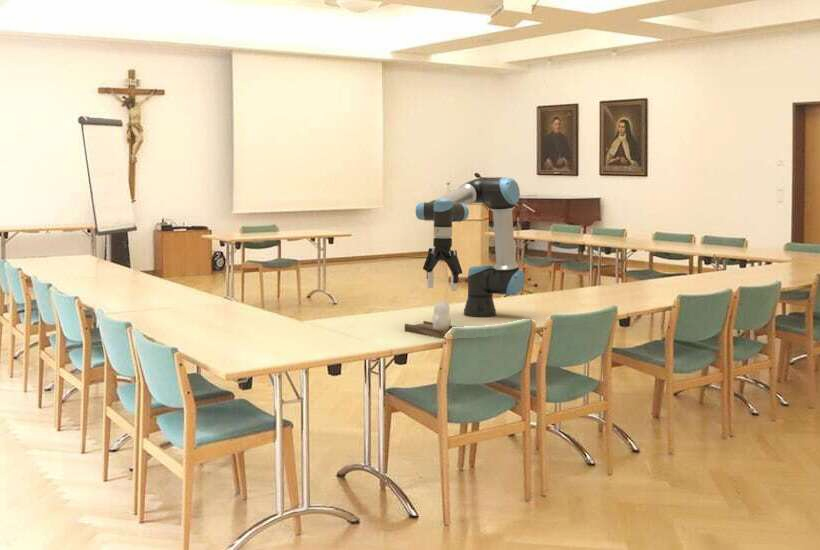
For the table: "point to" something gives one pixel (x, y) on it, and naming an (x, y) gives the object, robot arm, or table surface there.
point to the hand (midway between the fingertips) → (442, 289)
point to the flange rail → (427, 329)
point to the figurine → (441, 316)
